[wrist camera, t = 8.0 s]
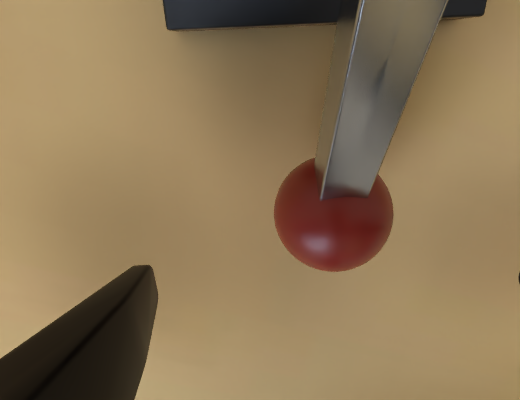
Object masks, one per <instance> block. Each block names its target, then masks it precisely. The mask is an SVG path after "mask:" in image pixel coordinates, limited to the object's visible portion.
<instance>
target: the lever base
mask: <svg viewBox="0 0 520 400" xmlns="http://www.w3.org/2000/svg"><path fill="white" fill-rule="evenodd" d="M340 2H341V0H163V6H164V13H165V20H166V27H167V30H171V31H199V30H221V29H244V28H266V27H288V26H311V25H333V24H337V20H338V14H339V8H340ZM486 2H487V0H448V2H447V5H446V7H445V10H444V12H443V15H442V17H441V20H445V19H462V18H470V17H479V16H483V15H484V12H485V7H486Z"/></svg>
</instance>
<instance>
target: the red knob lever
mask: <svg viewBox="0 0 520 400" xmlns="http://www.w3.org/2000/svg"><path fill="white" fill-rule="evenodd" d="M447 2H448V0H341V2H340V8H339V14H338V20H337V26H336V33H335V39H334V45H333V51H332V57H331V64H330V70H329V76H328V82H327V88H326V95H325V101H324V107H323V113H322V120H321V126H320V132H319V138H318V144H317V151H316V157H315V158H312V159H310V160H307V161H305V162H304V163H302V164H300V165H299V166H297V167H296V168H295V169H294V170H293V171H292V172H290V174H289V175H288V176H287V177H286V178H285V180H284V181H283V183H282V185H281V186H280V188H279V191H278V193H277V196H276V200H275V206H274V219H275V226H276V229H277V232H278V235H279V237H280V239H281V241H282V243H283V244H284V246H285V247H286V248H287V250H288V251H289V252H290V253H291V254H292V255H293V256H294V257H295V258H297V259H298V260H299V261H301V262H302V263H304V264H306V265H308V266H310V267H312V268H315V269H318V270H323V271H331V272H338V271H346V270H350V269H353V268H356V267H358V266H361V265H363V264H364V263H366V262H368V261H369V260H370V259H372V258H373V257H374V256H375V255H376V254H377V253H378V252H379V251H380V250H381V248H382V247H383V246H384V244H385V243H386V241H387V239H388V236H389V234H390V232H391V228H392V223H393V204H392V199H391V196H390V193H389V191H388V188H387V186H386V185H385V183H384V181H383V180H382V179H381V177H380V176H379V175H378V172H379V169H380V167H381V164H382V162H383V160H384V157H385V155H386V152H387V150H388V147H389V145H390V142H391V140H392V137H393V135H394V132H395V130H396V128H397V125H398V123H399V120H400V118H401V115H402V113H403V110H404V108H405V105H406V103H407V101H408V98H409V96H410V93H411V91H412V88H413V86H414V83H415V81H416V78H417V76H418V74H419V71H420V69H421V66H422V64H423V61H424V59H425V56H426V54H427V51H428V49H429V47H430V44H431V42H432V39H433V37H434V34H435V32H436V29H437V27H438V24H439V22H440V20H441V17H442V15H443V12H444V10H445V7H446V5H447Z"/></svg>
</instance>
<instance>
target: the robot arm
mask: <svg viewBox="0 0 520 400" xmlns="http://www.w3.org/2000/svg"><path fill="white" fill-rule="evenodd" d="M519 283H520V273H519ZM157 304H158V291H157V286H156V281H155V276H154V272H153V269H152V267H151V266H150V265H138V266H133V267H131V268H130V269H128V270H127V271H125V272H124V273H122V274H121V275H120V276H118V277H117V278H115V279H114V280H112V281H111V282H109V283H108V284H107V285H105V286H104V287H102V288H101V289H99V290H98V291H97V292H95V293H94V294H92V295H91V296H89V297H88V298H87V299H85V300H84V301H82V302H81V303H79V304H78V305H77V306H75V307H74V308H72V309H71V310H69V311H68V312H67V313H65V314H64V315H62V316H61V317H59V318H58V319H57V320H55V321H54V322H52V323H51V324H49V325H48V326H47V327H45V328H44V329H42V330H41V331H39V332H38V333H37V334H35V335H34V336H32V337H31V338H29V339H28V340H26V341H25V342H24V343H22V344H21V345H19V346H18V347H16V348H15V349H14V350H12V351H11V352H9V353H8V354H6V355H5V356H4V357H2V358H1V359H0V400H134V399H135V396H136V393H137V389H138V386H139V383H140V380H141V377H142V374H143V370H144V367H145V363H146V359H147V355H148V350H149V345H150V340H151V335H152V329H153V324H154V319H155V314H156V309H157Z"/></svg>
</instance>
